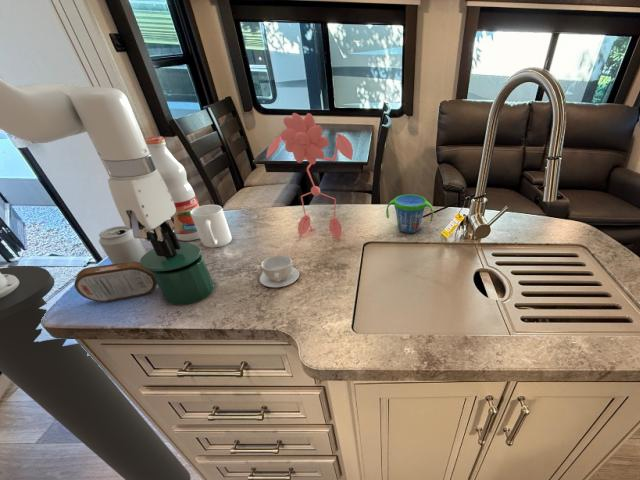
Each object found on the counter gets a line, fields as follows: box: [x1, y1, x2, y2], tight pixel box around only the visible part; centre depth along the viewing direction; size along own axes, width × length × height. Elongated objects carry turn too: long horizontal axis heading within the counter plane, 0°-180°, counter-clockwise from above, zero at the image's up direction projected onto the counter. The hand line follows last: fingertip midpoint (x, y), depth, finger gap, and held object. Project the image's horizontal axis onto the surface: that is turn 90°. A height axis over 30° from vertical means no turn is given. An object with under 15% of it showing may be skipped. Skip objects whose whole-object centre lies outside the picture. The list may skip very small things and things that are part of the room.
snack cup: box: [385, 193, 434, 234], centre depth 106 cm, size 16×10×10 cm
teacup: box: [259, 254, 300, 288], centre depth 82 cm, size 10×10×5 cm
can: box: [98, 225, 148, 264], centre depth 80 cm, size 8×8×12 cm
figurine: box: [265, 112, 354, 253], centre depth 90 cm, size 15×26×35 cm, turn 80°
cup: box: [190, 204, 233, 249], centre depth 94 cm, size 8×12×10 cm
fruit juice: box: [144, 135, 200, 242], centre depth 93 cm, size 9×9×28 cm
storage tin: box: [150, 254, 215, 306], centre depth 75 cm, size 10×10×8 cm
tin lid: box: [140, 230, 202, 271], centre depth 70 cm, size 12×12×7 cm
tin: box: [73, 262, 158, 303], centre depth 73 cm, size 15×3×8 cm, turn 113°
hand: (169, 251), depth 71 cm, fingers closed on tin lid, 2 cm apart
